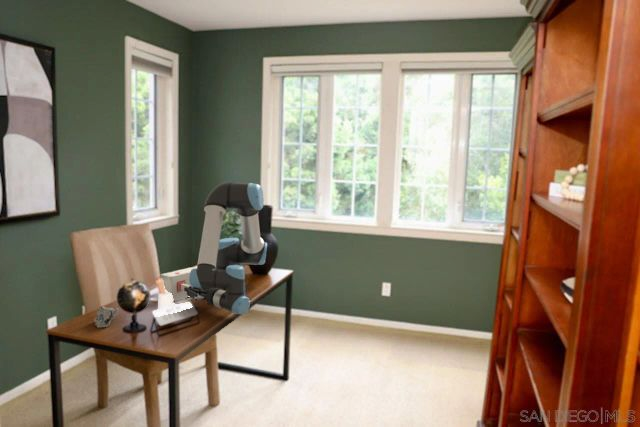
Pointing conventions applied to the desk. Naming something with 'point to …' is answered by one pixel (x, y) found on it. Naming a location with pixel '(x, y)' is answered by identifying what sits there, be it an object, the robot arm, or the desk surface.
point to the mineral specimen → (105, 316)
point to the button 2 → (180, 285)
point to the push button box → (175, 277)
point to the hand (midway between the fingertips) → (182, 286)
